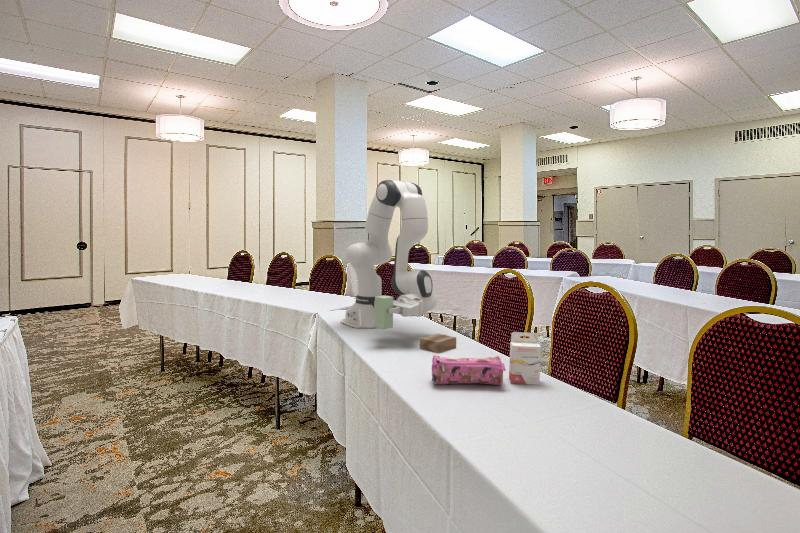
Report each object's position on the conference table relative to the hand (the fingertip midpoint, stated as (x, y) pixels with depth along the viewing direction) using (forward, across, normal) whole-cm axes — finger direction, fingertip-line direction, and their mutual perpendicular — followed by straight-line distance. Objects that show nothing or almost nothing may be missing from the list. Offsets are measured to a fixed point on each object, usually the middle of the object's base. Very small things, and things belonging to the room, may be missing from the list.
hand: (382, 309), depth 181 cm
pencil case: (+12, +49, +14) cm, 52 cm away
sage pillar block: (-1, 0, +7) cm, 7 cm away
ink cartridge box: (-2, +60, +13) cm, 61 cm away
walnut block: (-14, +17, +14) cm, 26 cm away
